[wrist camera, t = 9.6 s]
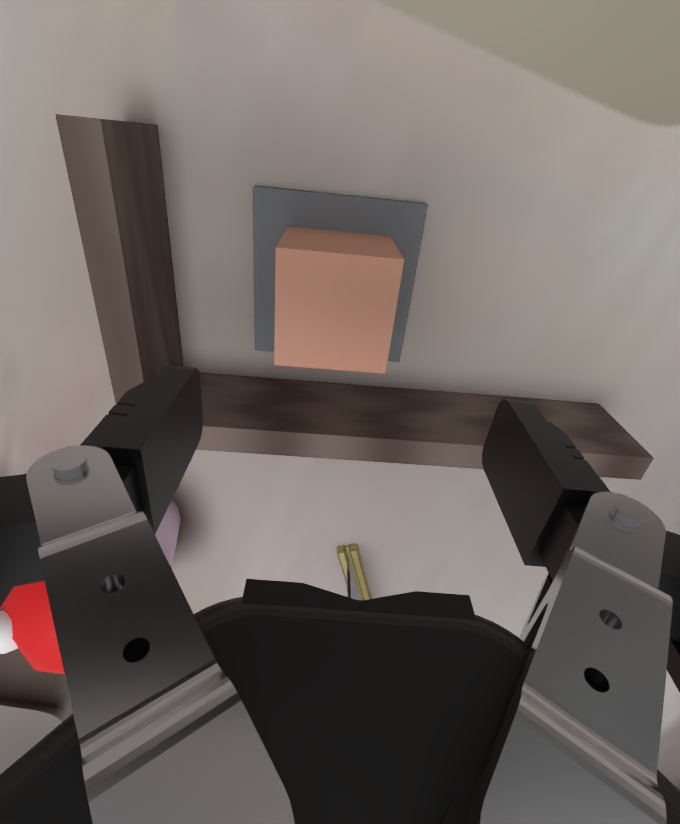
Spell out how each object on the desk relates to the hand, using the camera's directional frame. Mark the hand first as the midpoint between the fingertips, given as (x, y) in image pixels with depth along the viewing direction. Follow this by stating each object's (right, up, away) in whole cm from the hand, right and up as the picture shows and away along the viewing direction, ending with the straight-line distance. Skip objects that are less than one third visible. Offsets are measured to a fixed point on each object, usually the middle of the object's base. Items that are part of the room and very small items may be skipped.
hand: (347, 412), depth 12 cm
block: (-1, +7, +13) cm, 15 cm away
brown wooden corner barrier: (+3, +6, +14) cm, 16 cm away
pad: (-1, +8, +13) cm, 15 cm away
